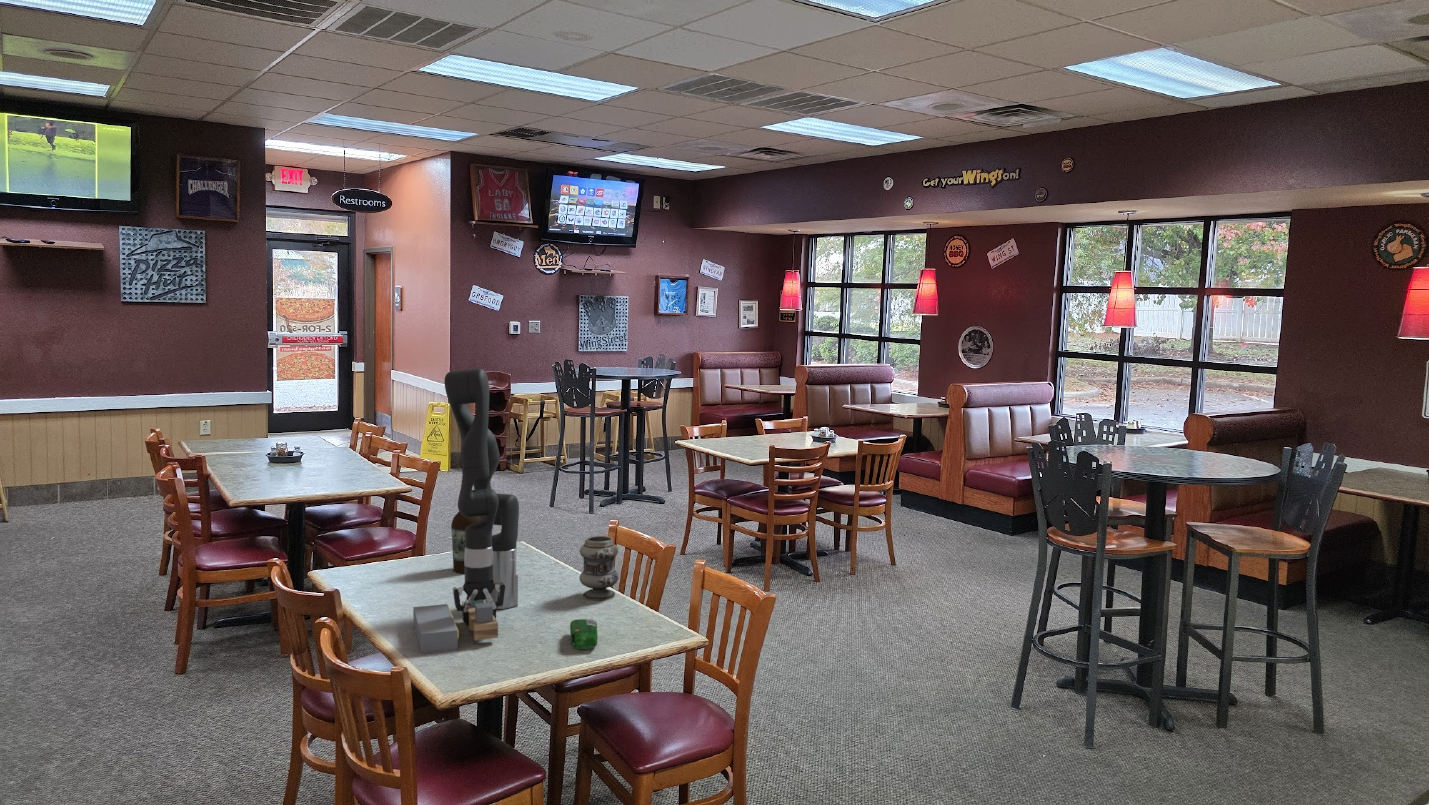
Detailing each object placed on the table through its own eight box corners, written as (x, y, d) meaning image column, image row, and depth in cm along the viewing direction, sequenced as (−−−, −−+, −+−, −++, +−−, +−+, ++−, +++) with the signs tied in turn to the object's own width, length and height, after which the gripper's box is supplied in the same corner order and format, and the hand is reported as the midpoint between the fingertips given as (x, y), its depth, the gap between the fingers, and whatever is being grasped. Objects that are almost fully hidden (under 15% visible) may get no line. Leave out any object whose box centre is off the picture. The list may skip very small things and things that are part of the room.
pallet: (462, 615, 267) (462, 601, 267) (483, 612, 270) (483, 599, 269) (474, 640, 248) (474, 625, 248) (498, 637, 250) (497, 622, 250)
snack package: (596, 632, 261) (596, 614, 261) (598, 652, 246) (598, 632, 246) (569, 633, 260) (569, 615, 260) (570, 653, 245) (570, 633, 244)
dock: (448, 621, 267) (448, 604, 266) (458, 649, 246) (458, 630, 245) (413, 624, 263) (413, 607, 263) (421, 653, 242) (421, 634, 242)
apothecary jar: (593, 587, 302) (594, 531, 300) (626, 593, 297) (626, 536, 295) (571, 597, 291) (571, 539, 290) (604, 604, 286) (604, 545, 284)
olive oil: (462, 564, 326) (462, 492, 323) (490, 567, 323) (490, 494, 320) (445, 572, 315) (444, 497, 313) (473, 575, 313) (473, 500, 310)
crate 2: (490, 616, 255) (490, 602, 254) (493, 621, 251) (492, 606, 251) (474, 618, 253) (474, 603, 253) (477, 623, 249) (477, 608, 249)
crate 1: (481, 601, 267) (481, 587, 267) (483, 605, 264) (483, 591, 263) (466, 602, 266) (466, 588, 265) (469, 607, 262) (468, 592, 262)
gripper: (503, 556, 263) (503, 615, 265) (449, 561, 257) (450, 622, 259) (508, 563, 256) (508, 624, 258) (453, 569, 251) (454, 631, 252)
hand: (479, 623), depth 259 cm, fingers closed on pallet, 6 cm apart
